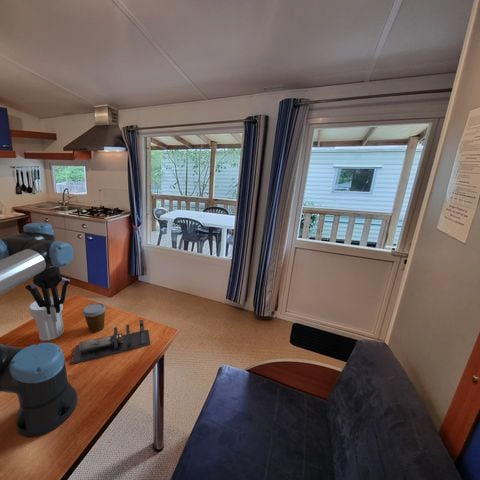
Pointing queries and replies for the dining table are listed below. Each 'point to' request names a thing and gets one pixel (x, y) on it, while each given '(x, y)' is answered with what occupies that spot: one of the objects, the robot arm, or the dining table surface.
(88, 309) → the disposable coffee cup
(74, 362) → the collar rail
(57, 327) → the cup
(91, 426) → the dining table surface
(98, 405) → the dining table surface
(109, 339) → the tube
